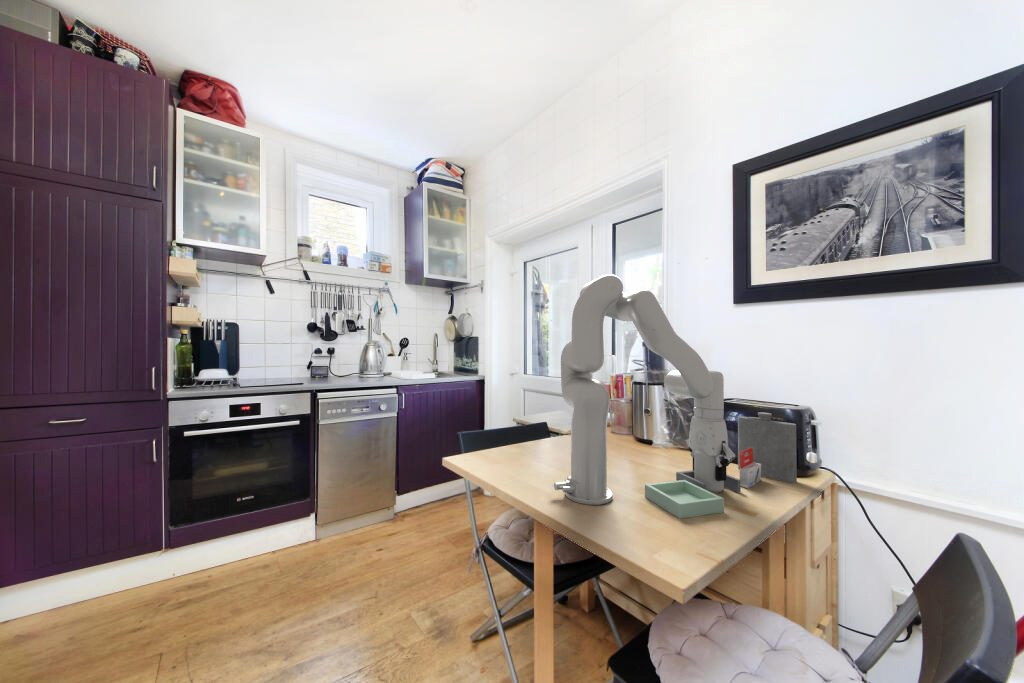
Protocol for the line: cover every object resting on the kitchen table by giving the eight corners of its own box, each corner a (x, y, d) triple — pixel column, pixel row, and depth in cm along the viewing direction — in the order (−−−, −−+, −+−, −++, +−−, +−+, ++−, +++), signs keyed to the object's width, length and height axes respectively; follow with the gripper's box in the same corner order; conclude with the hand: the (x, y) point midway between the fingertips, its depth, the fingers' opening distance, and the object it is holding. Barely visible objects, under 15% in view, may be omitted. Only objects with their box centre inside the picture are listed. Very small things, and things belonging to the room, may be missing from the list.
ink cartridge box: (761, 480, 110) (761, 448, 110) (748, 488, 103) (748, 454, 103) (752, 478, 112) (752, 446, 112) (738, 486, 105) (738, 452, 105)
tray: (680, 518, 84) (680, 504, 84) (644, 496, 97) (644, 484, 97) (723, 511, 88) (723, 498, 88) (684, 491, 100) (684, 479, 100)
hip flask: (798, 481, 109) (797, 415, 110) (793, 484, 107) (793, 417, 107) (740, 467, 122) (740, 408, 123) (735, 469, 120) (735, 409, 120)
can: (729, 494, 99) (729, 450, 99) (702, 493, 99) (702, 450, 99) (715, 484, 106) (714, 443, 106) (689, 483, 106) (689, 443, 107)
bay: (703, 497, 96) (702, 484, 96) (676, 483, 106) (676, 472, 106) (740, 492, 100) (740, 479, 100) (711, 479, 110) (711, 468, 110)
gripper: (676, 409, 110) (676, 466, 110) (724, 420, 94) (724, 488, 93) (695, 408, 112) (696, 464, 112) (746, 418, 96) (746, 485, 95)
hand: (708, 475), depth 103 cm, fingers closed on can, 7 cm apart
